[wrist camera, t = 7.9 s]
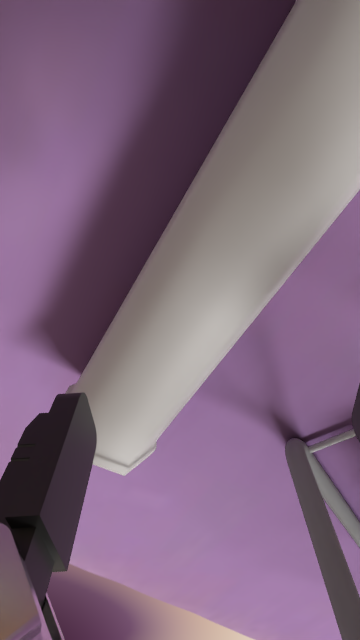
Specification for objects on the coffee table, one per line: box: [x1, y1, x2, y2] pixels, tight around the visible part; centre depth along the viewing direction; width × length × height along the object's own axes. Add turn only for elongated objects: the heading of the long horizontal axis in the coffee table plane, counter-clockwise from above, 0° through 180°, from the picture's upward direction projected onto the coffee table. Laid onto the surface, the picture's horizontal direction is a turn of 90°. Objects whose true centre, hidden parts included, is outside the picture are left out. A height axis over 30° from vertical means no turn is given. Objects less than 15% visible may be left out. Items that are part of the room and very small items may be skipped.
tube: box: [65, 0, 360, 476], centre depth 12 cm, size 5×5×25 cm
